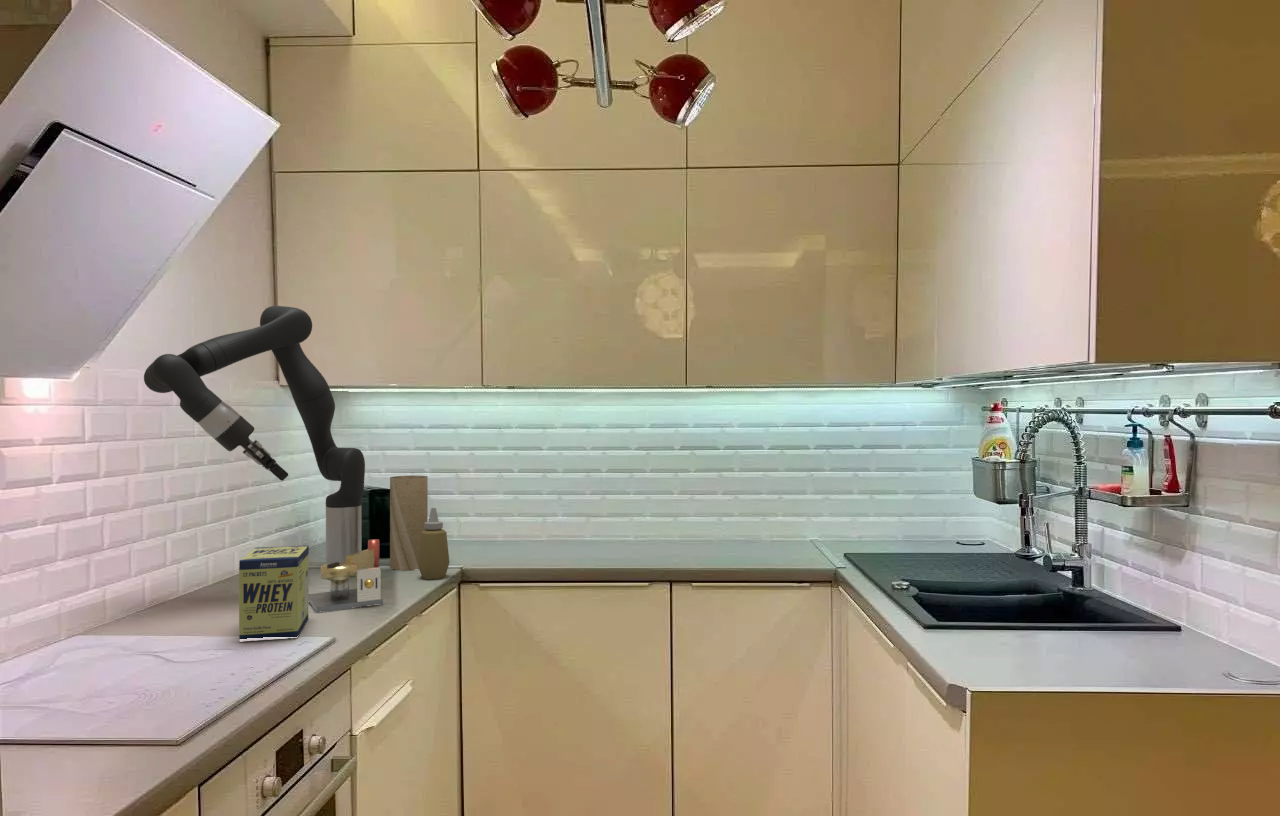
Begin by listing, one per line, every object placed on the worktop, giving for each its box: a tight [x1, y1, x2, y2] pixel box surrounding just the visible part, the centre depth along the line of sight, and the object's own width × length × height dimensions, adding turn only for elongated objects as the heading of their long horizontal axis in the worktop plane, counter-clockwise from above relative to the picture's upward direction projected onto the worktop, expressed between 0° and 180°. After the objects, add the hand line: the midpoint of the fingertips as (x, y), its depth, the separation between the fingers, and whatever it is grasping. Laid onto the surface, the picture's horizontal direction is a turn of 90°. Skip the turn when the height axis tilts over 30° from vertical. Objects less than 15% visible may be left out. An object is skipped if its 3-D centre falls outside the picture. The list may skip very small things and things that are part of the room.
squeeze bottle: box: [418, 507, 450, 580], centre depth 207 cm, size 8×8×18 cm
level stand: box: [308, 566, 384, 613], centre depth 180 cm, size 15×14×8 cm
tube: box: [389, 475, 429, 571], centre depth 220 cm, size 10×10×25 cm
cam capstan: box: [320, 538, 380, 581], centre depth 185 cm, size 19×8×6 cm, turn 166°
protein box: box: [238, 545, 310, 639], centre depth 158 cm, size 10×16×16 cm
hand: (285, 477), depth 186 cm, fingers closed
